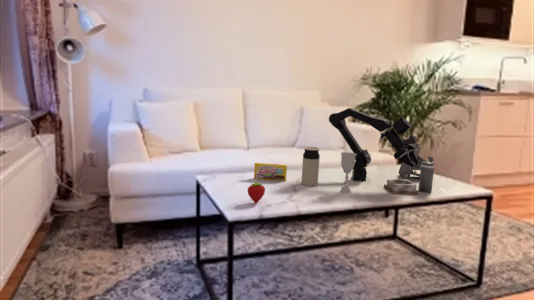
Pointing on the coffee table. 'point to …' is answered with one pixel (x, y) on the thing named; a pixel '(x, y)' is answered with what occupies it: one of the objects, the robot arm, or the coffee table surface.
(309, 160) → the travel mug
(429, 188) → the lens
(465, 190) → the coffee table surface
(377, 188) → the coffee table surface
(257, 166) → the candy box
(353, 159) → the chalice
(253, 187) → the strawberry
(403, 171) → the camera
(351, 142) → the robot arm
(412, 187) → the mount
